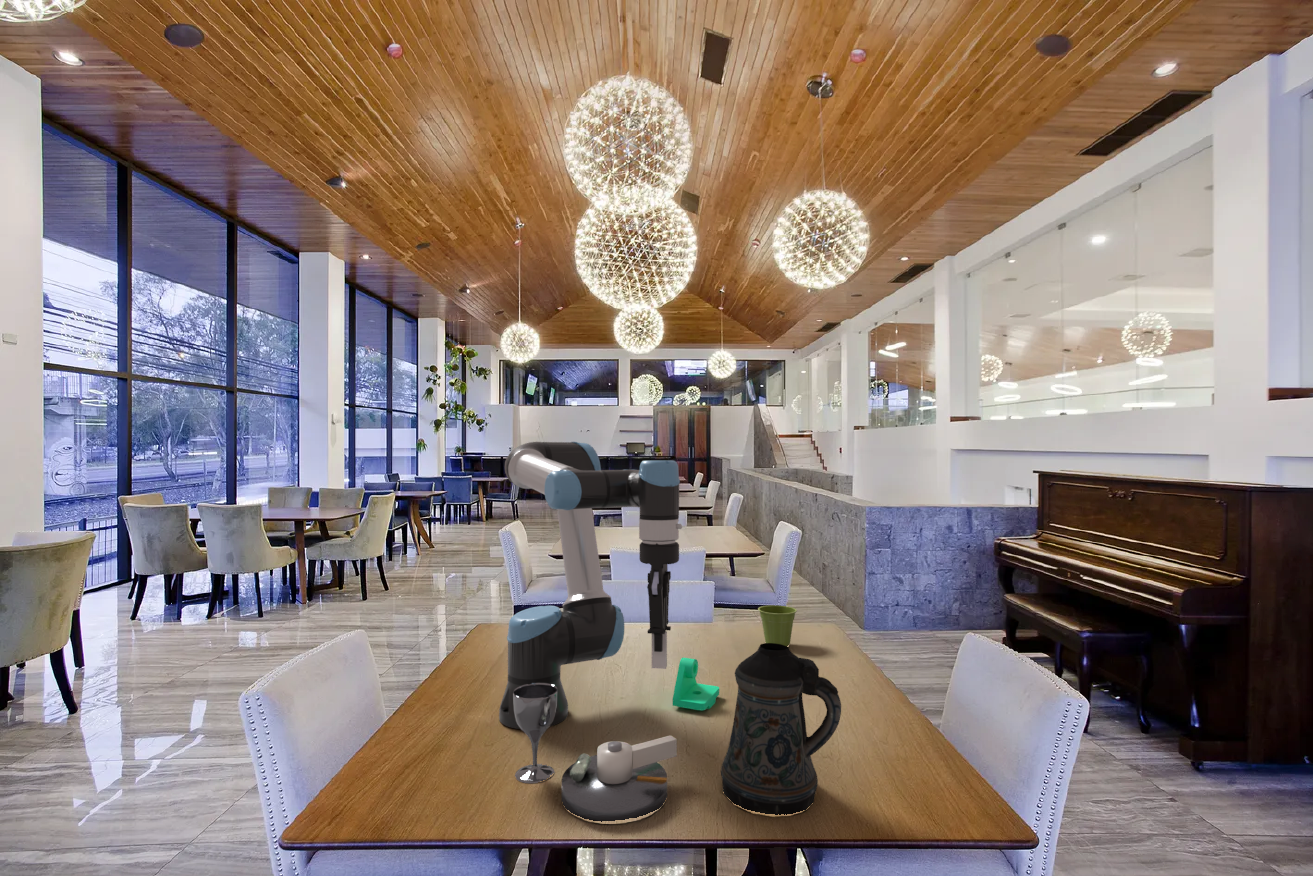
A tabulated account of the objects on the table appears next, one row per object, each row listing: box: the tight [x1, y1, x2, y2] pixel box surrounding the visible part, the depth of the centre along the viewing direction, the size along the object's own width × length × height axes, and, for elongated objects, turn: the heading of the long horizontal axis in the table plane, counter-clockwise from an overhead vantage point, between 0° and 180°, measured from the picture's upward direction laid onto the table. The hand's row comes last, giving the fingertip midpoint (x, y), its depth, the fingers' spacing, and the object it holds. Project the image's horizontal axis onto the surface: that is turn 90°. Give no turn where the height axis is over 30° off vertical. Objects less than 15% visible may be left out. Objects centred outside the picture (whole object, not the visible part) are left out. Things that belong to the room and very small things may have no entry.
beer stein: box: [720, 642, 842, 815], centre depth 110 cm, size 16×19×25 cm
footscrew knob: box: [596, 735, 678, 784], centre depth 111 cm, size 15×6×5 cm, turn 121°
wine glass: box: [513, 683, 557, 785], centre depth 116 cm, size 8×8×15 cm
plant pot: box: [757, 604, 798, 646], centre depth 196 cm, size 12×12×11 cm
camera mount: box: [672, 657, 720, 711], centre depth 150 cm, size 12×8×10 cm, turn 156°
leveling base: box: [561, 753, 668, 822], centre depth 109 cm, size 18×18×5 cm
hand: (659, 667), depth 120 cm, fingers closed
